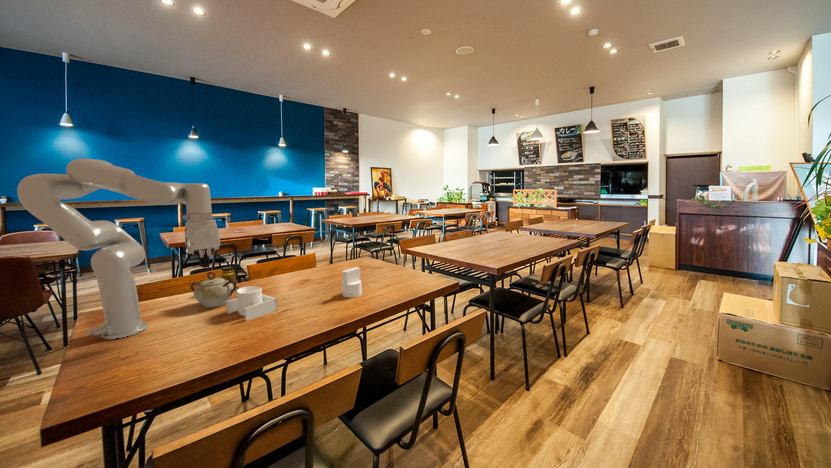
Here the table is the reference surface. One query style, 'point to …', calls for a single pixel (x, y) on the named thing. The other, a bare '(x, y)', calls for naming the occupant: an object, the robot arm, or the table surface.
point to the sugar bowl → (213, 291)
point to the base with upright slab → (351, 282)
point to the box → (254, 307)
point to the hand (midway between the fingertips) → (205, 266)
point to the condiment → (229, 275)
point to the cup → (248, 297)
